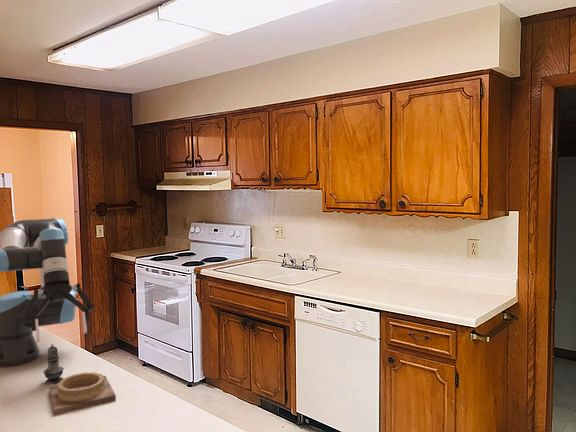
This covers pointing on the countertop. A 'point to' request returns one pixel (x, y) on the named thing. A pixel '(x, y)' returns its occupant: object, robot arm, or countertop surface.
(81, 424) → the countertop surface
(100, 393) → the collar stand
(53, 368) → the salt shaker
